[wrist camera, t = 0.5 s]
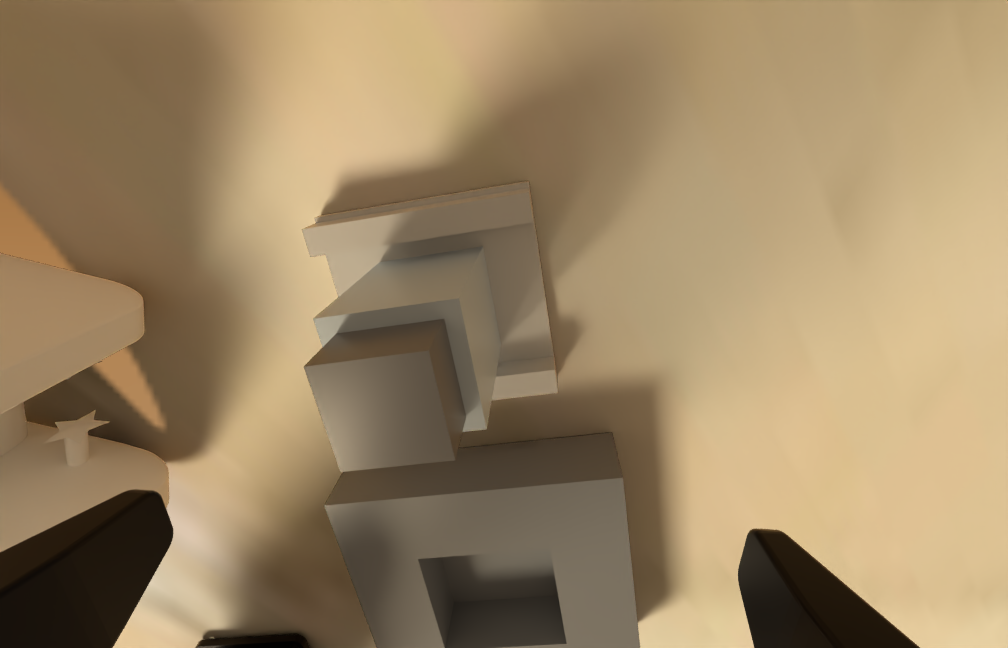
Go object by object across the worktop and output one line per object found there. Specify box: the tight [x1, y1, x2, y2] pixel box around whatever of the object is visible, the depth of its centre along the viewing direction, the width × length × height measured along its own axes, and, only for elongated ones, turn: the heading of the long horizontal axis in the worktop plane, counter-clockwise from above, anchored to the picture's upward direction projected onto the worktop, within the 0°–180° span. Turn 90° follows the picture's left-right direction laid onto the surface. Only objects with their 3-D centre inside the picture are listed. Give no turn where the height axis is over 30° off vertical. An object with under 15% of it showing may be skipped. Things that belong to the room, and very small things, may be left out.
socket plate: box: [324, 432, 640, 648], centre depth 23 cm, size 12×12×3 cm
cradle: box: [302, 181, 558, 400], centre depth 19 cm, size 8×8×2 cm
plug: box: [304, 246, 501, 472], centre depth 16 cm, size 4×4×8 cm
